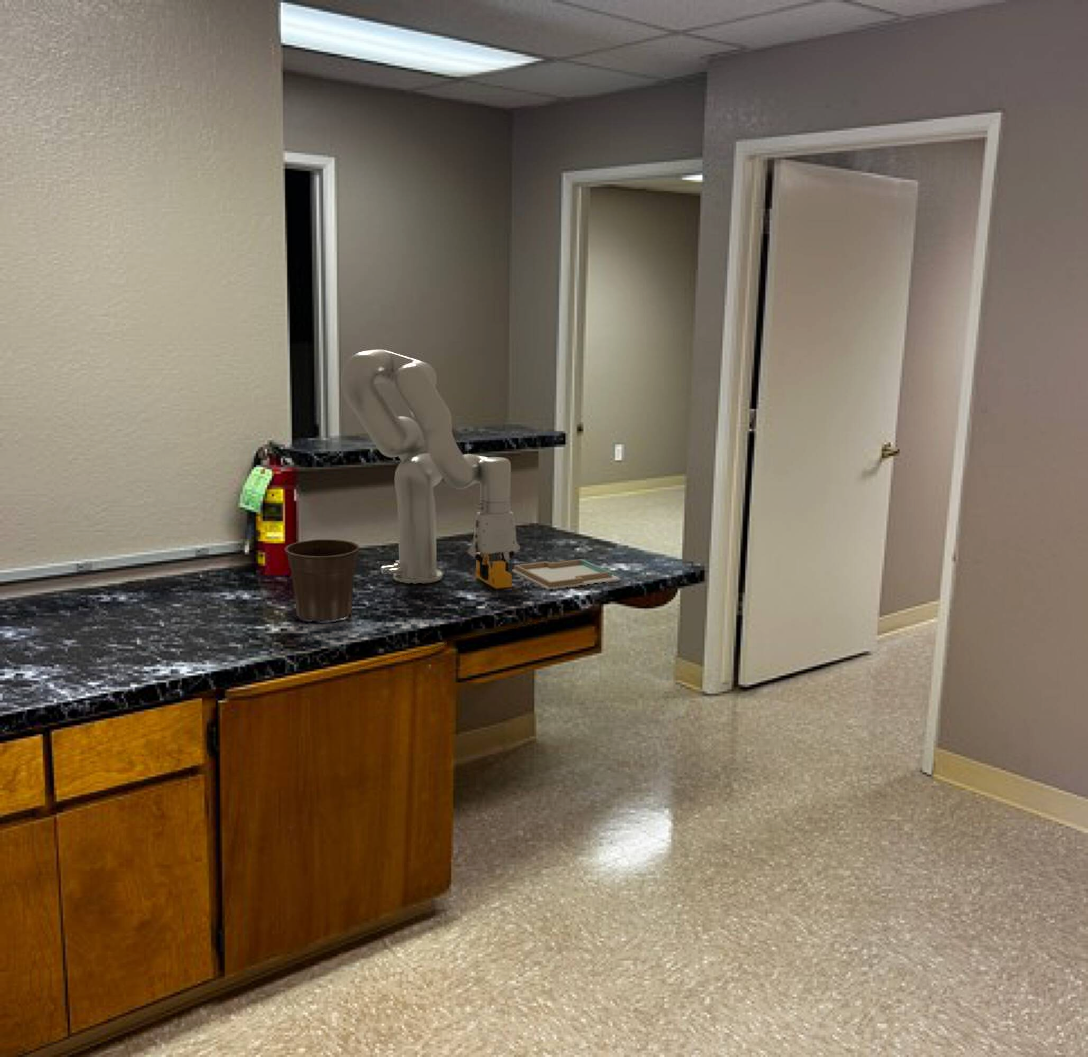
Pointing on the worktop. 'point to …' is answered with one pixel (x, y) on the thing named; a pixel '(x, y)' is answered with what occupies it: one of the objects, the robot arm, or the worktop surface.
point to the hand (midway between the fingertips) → (493, 577)
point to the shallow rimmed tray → (564, 573)
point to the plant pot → (322, 578)
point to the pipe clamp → (496, 574)
